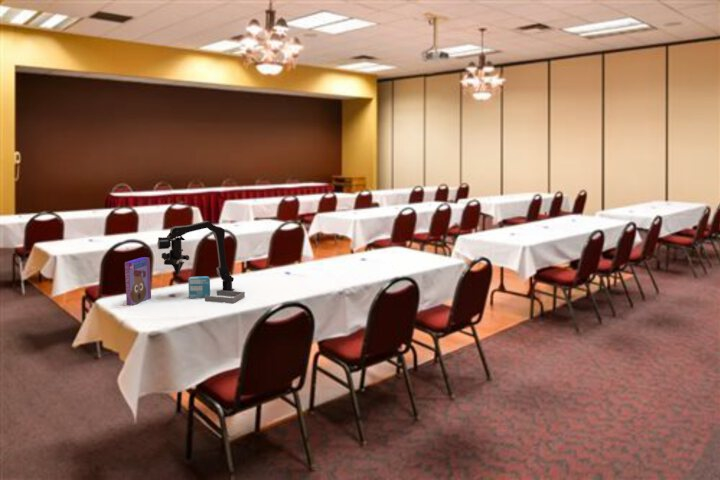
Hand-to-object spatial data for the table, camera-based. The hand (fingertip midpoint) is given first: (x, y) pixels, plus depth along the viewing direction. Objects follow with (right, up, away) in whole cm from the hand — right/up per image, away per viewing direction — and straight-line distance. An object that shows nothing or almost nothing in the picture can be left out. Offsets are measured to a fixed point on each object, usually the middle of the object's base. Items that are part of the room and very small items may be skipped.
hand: (177, 274), depth 357 cm
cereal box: (-18, -15, -12) cm, 26 cm away
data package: (+13, -14, -1) cm, 19 cm away
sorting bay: (+29, -14, -5) cm, 33 cm away
